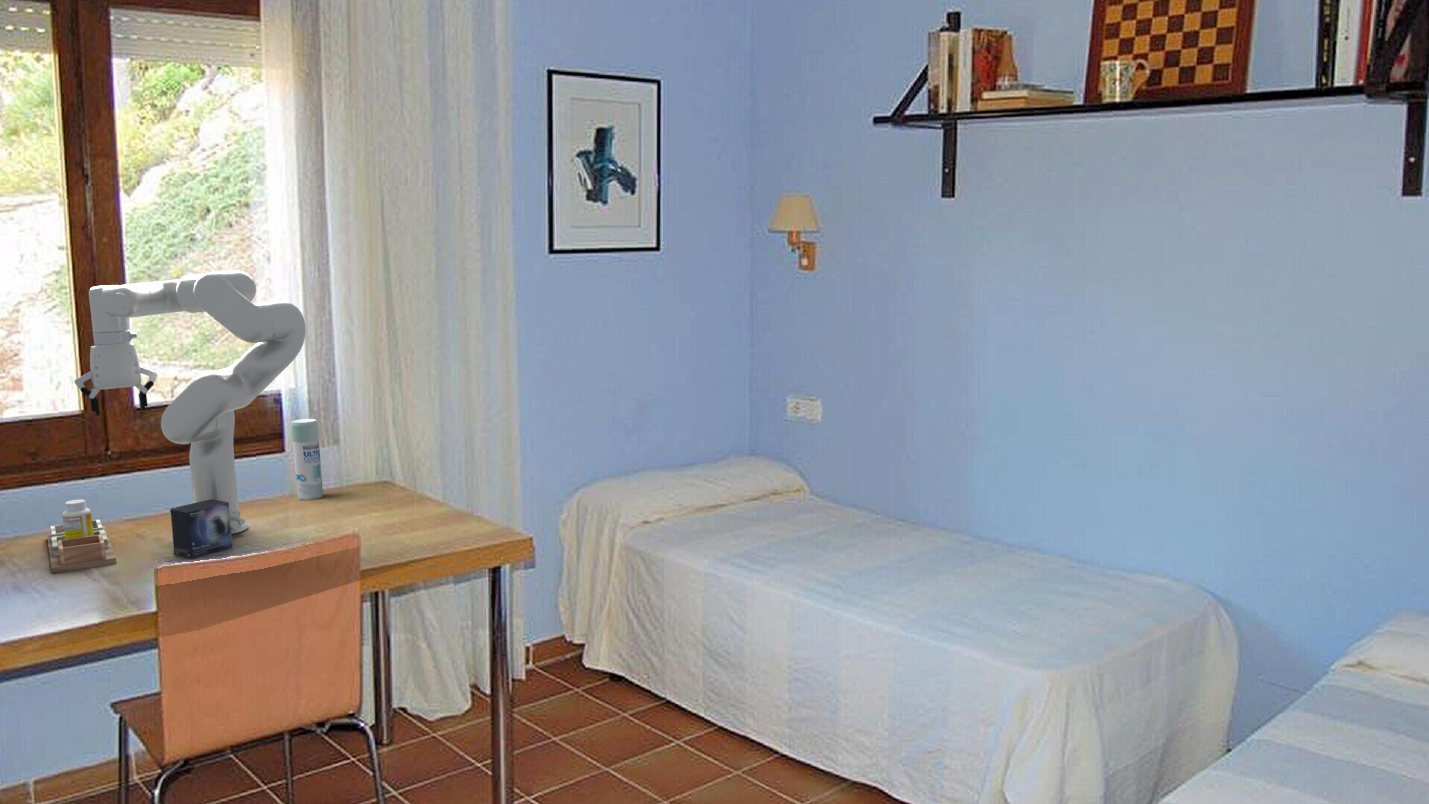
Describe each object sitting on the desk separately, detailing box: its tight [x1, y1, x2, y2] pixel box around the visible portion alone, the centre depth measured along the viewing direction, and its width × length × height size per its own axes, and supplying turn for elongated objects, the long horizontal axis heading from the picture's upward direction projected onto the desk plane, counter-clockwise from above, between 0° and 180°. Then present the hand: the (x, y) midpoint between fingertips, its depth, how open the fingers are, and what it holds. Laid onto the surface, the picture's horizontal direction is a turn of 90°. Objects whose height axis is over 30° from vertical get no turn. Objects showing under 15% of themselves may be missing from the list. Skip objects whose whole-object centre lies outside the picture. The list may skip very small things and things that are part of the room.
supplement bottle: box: [61, 499, 94, 539], centre depth 266 cm, size 6×6×10 cm
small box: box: [169, 499, 233, 559], centre depth 263 cm, size 11×6×10 cm, turn 148°
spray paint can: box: [290, 418, 324, 501], centre depth 313 cm, size 6×6×20 cm
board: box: [46, 519, 117, 574], centre depth 268 cm, size 34×12×5 cm, turn 30°
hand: (120, 412), depth 283 cm, fingers open, 9 cm apart
